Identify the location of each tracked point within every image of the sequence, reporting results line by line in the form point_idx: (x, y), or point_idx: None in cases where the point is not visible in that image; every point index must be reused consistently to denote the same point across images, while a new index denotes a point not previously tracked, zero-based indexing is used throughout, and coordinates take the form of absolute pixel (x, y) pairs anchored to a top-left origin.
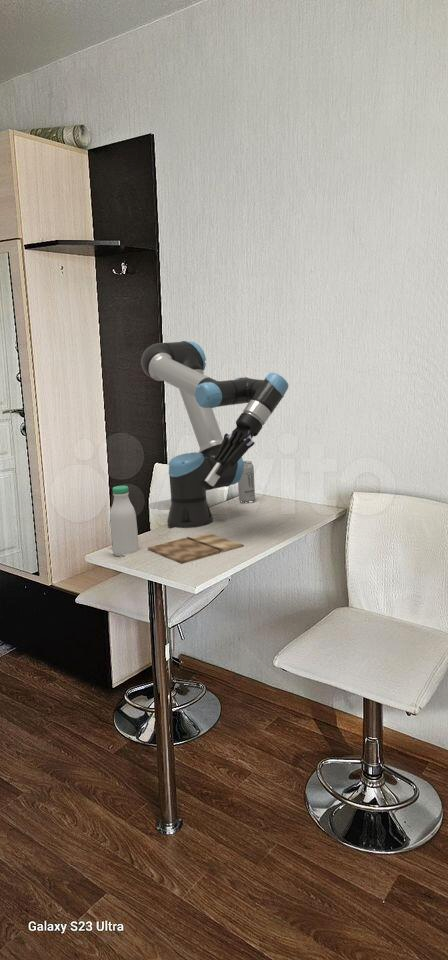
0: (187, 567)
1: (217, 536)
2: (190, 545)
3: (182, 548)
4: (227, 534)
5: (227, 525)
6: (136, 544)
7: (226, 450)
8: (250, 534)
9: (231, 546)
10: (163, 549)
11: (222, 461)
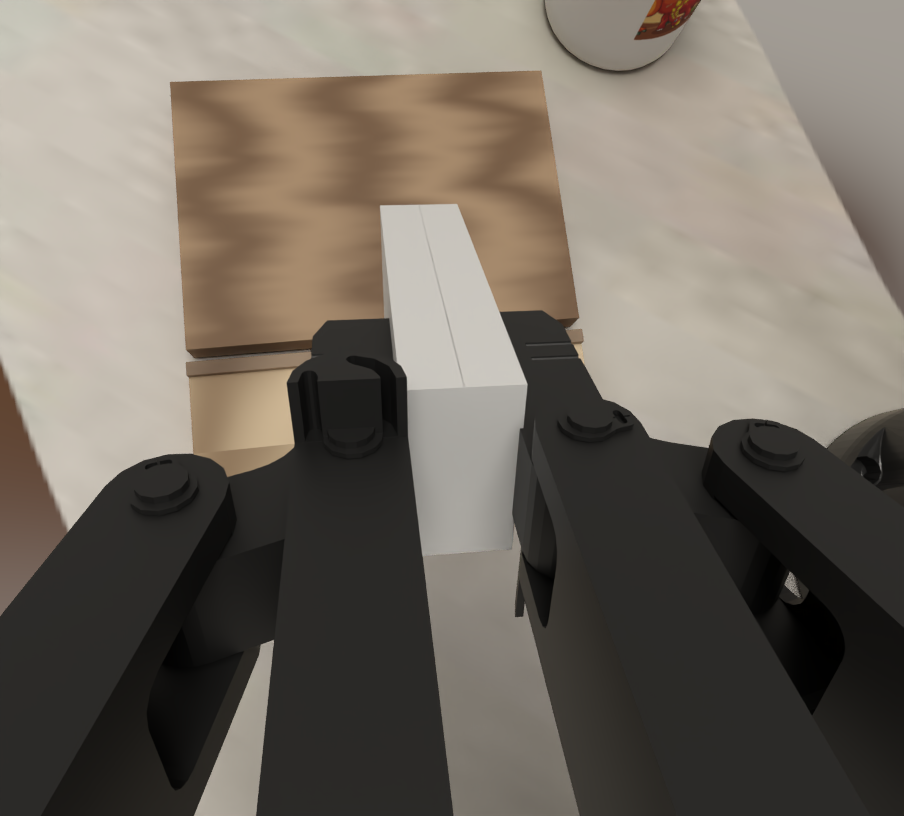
0: (155, 124)
1: None
2: None
3: (386, 201)
4: None
5: None
6: (570, 4)
7: (661, 807)
8: (479, 772)
9: (223, 461)
10: (444, 114)
11: (291, 401)
